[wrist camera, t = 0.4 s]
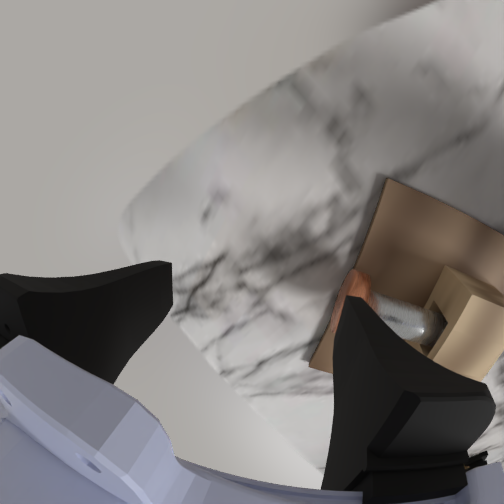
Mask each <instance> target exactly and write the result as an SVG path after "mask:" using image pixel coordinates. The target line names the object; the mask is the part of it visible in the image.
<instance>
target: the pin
mask: <svg viewBox="0 0 504 504" xmlns="http://www.w3.org/2000/svg"><path fill="white" fill-rule="evenodd" d="M370 289H371V278H370V276H369V274H366V273H363V272H361V271H358V270H355V269H352V270H351V271H350V272H349V273H348V274H347V276H346V278H345V280H344V282H343V284H342V286H341V288H340V291H339V293H338V296H337V299H336V302H335V305H334V309H333V313H332V317H331V324H330V329H331V332H332V333H336V330H337V326H338V323H339V319H340V316H341V312H342V308H343V305H344V301H345V297H346V295H350V296H356V297H361V298H362V299H364V300H365V301H366V303H367V304H368V305H369V306H370V307H371V308H372V309H373V310H374V311H375V312H376V313H377V315H378V316H379V317H380V318H381V319H382V320H383V321H384V322H385V323H386V324H387V325H388V326H389V327H390V328H391V329H392V330H393V331H394V332H395V333H396V334H397V335H399V336H400V337H401V338H402V339H405V340H408V341H412V342H415V343H419V344H423V345H426V346H430V347H434V345H435V344H436V342H437V341H438V339H439V337H440V336H441V334H442V333H443V331H444V329H445V328H446V326H447V324H448V322H447V320H446V318H445V317H444V315H443V314H440V313H437V312H434V311H431V310H428V309H425V308H422V307H420V306H417V305H414V304H411V303H408V302H405V301H402V300H399V299H396V298H393V297H390V296H387V295H384V294H381V293H378V292H375V291H372V290H370Z"/></svg>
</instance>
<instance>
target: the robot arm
mask: <svg viewBox="0 0 504 504" xmlns="http://www.w3.org/2000/svg"><path fill="white" fill-rule="evenodd" d="M172 306H173V291H172V263H169V262H165V261H160V260H159V261H150V262H145V263H140V264H136V265H132V266H128V267H124V268H120V269H116V270H111V271H107V272H101V273H96V274H91V275H84V276H75V277H60V278H59V277H57V278H43V277H28V276H21V275H13V274H8V273H6V274H0V504H504V472H503V468H502V465H501V462H496V463H492V464H488V465H484V466H480V467H476V468H473V469H471V470H469V471H467V472H465V468H464V464H466V463H467V462H468V460H469V456H468V452H467V450H468V449H469V448H470V447H471V446H472V444H473V443H474V442H475V441H476V440H477V439H478V438H479V437H480V436H481V435H482V433H483V432H484V431H485V430H486V428H487V427H488V426H489V424H490V423H491V421H492V419H493V417H494V414H495V409H496V405H495V402H494V400H493V398H492V396H491V393H490V391H489V389H488V387H487V385H486V384H485V383H482V382H479V381H476V380H473V379H471V378H468V377H465V376H462V375H460V374H458V373H456V372H454V371H451V370H449V369H447V368H445V367H443V366H441V365H440V364H438V363H436V362H434V361H433V360H431V359H429V358H428V357H426V356H425V355H423V354H422V353H420V352H419V351H417V350H416V349H415V348H413V347H412V346H411V345H409V344H408V343H407V342H405V341H404V340H403V339H402V338H401V337H400V336H399V335H397V334H396V333H395V332H394V331H393V330H392V329H391V328H390V327H389V326H388V325H387V324H386V323H385V322H384V321H383V320H382V319H381V318H380V317H379V316H378V315H377V313H376V312H375V311H374V310H373V309H372V308H371V307H370V306H369V305H368V304H367V303H366V301H365V300H364V299H362V298H361V297H356V296H350V295H346V297H345V301H344V305H343V308H342V312H341V316H340V319H339V323H338V326H337V330H336V333H335V337H334V345H333V358H332V360H333V384H334V415H333V424H332V432H331V439H330V446H329V452H328V458H327V463H326V468H325V473H324V478H323V482H322V486H321V490H317V489H308V488H298V487H292V486H285V485H278V484H273V483H267V482H262V481H257V480H252V479H248V478H244V477H239V476H235V475H231V474H228V473H224V472H220V471H217V470H213V469H210V468H207V467H203V466H200V465H197V464H194V463H191V462H188V461H186V460H183V459H180V458H178V457H176V456H174V452H173V448H172V444H171V441H170V439H169V436H168V435H167V433H166V431H165V430H164V428H163V426H162V425H161V423H160V421H159V420H158V418H156V417H155V416H154V415H153V414H152V413H151V412H150V411H149V410H148V409H147V408H145V407H144V406H143V405H142V404H141V403H140V402H139V401H138V400H137V399H135V398H134V397H132V396H130V395H129V394H127V393H125V392H124V391H122V390H121V389H119V388H117V387H116V386H114V385H113V384H114V382H115V381H116V379H117V377H118V376H119V374H120V373H121V371H122V370H123V368H124V367H125V365H126V364H127V362H128V361H129V359H130V358H131V357H132V356H133V354H134V353H135V352H136V351H137V350H138V349H139V347H140V346H141V345H142V344H143V343H144V342H145V341H146V340H147V338H148V337H149V336H150V335H151V334H152V333H153V332H154V331H155V329H156V328H157V327H158V326H159V325H160V324H161V323H162V321H163V320H164V318H165V317H166V315H167V314H168V312H169V311H170V309H171V307H172Z"/></svg>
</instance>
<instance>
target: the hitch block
mask: <svg viewBox="0 0 504 504" xmlns="http://www.w3.org/2000/svg"><path fill="white" fill-rule="evenodd" d="M353 269H355V270H358V271H361V272H363V273H366V274H369V276H370V278H371V289H370V290H372V291H375V292H378V293H381V294H384V295H387V296H390V297H393V298H396V299H399V300H402V301H405V302H408V303H411V304H414V305H417V306H420V307H422V308H425V309H428V310H431V311H434V312H437V313H440V314H443V315H444V317H445V318H446V320H447V322H448V324H447V326H446V328H445V329H444V331H443V333H442V334H441V336H440V337H439V339H438V341H437V342H436V344H435V345H434V347H430V346H426V345H423V344H419V343H415V342H412V341H408V340H405V339H403V340H404V341H405V342H407V343H408V344H409V345H411V346H412V347H413V348H415V349H416V350H417V351H419V352H420V353H422V354H423V355H425V356H426V357H428V358H429V359H431V360H433V361H434V362H436V363H438V364H440V365H441V366H443V367H445V368H447V369H449V370H451V371H454V372H456V373H458V374H460V375H462V376H465V377H468V378H471V379H473V380H476V381H479V382H481V381H482V380H483V378H484V377H485V376H486V374H487V373H488V372H489V370H490V369H491V368H492V366H493V365H494V363H495V362H496V360H497V359H498V358H499V356H500V355H501V353H502V352H503V350H504V235H502V234H500V233H499V232H497V231H495V230H494V229H492V228H490V227H488V226H487V225H485V224H483V223H481V222H479V221H478V220H476V219H474V218H472V217H470V216H468V215H466V214H464V213H463V212H461V211H459V210H457V209H455V208H453V207H451V206H449V205H447V204H445V203H443V202H440V201H438V200H436V199H434V198H432V197H430V196H428V195H426V194H423V193H421V192H419V191H417V190H414V189H412V188H410V187H407V186H405V185H403V184H400V183H398V182H396V181H393V180H391V179H388V178H386V180H385V184H384V187H383V190H382V193H381V196H380V199H379V202H378V205H377V207H376V210H375V213H374V216H373V219H372V221H371V224H370V227H369V230H368V232H367V235H366V238H365V240H364V243H363V245H362V248H361V250H360V253H359V256H358V258H357V260H356V263H355V265H354V268H353ZM330 324H331V320H330V322H329V324H328V326H327V328H326V330H325V332H324V334H323V336H322V338H321V340H320V342H319V344H318V346H317V348H316V350H315V352H314V354H313V356H312V358H311V360H310V362H309V367H311V368H314V369H317V370H321V371H324V372H328V373H332V374H333V360H332V358H333V345H334V337H335V333H332V332H331V329H330Z"/></svg>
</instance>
